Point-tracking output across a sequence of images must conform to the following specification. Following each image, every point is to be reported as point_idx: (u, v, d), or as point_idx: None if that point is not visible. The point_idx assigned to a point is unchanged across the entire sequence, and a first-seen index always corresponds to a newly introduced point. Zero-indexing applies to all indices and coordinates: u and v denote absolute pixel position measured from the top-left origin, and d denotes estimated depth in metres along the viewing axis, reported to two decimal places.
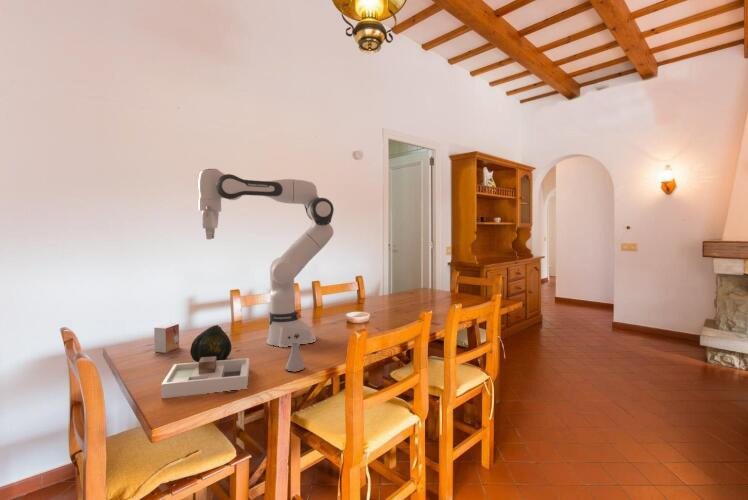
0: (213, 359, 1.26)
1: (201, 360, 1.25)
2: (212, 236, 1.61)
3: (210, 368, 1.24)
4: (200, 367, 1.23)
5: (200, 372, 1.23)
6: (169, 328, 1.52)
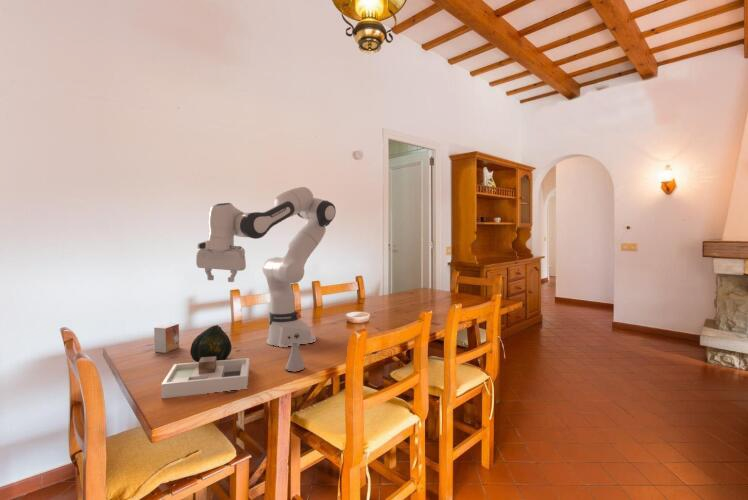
0: (213, 359, 1.26)
1: (201, 360, 1.25)
2: (212, 277, 1.41)
3: (210, 368, 1.24)
4: (200, 367, 1.23)
5: (200, 372, 1.23)
6: (169, 328, 1.52)
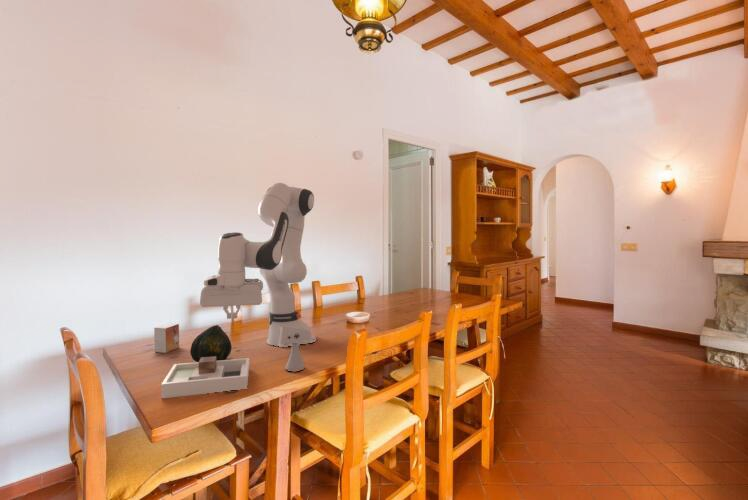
0: (213, 359, 1.26)
1: (201, 360, 1.25)
2: (231, 315, 1.28)
3: (210, 368, 1.24)
4: (200, 367, 1.23)
5: (200, 372, 1.23)
6: (169, 328, 1.52)
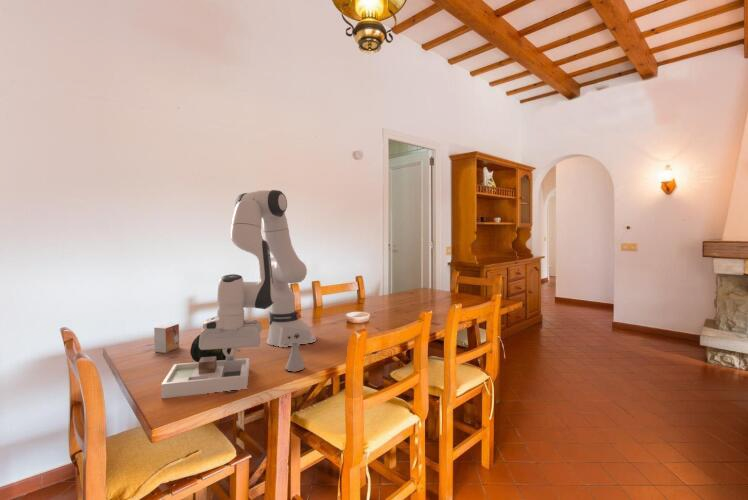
0: (213, 359, 1.26)
1: (201, 360, 1.25)
2: None
3: (210, 368, 1.24)
4: (200, 367, 1.23)
5: (200, 372, 1.23)
6: (169, 328, 1.52)
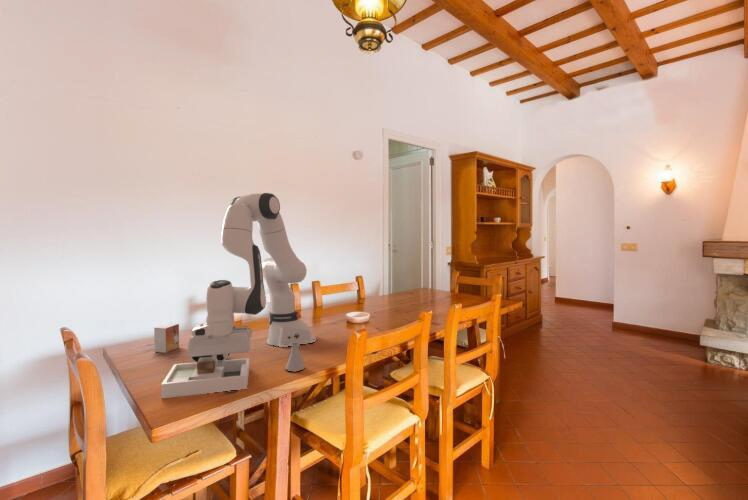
0: (212, 359, 1.26)
1: (199, 360, 1.25)
2: None
3: (208, 368, 1.24)
4: (199, 367, 1.23)
5: (199, 372, 1.23)
6: (169, 328, 1.52)
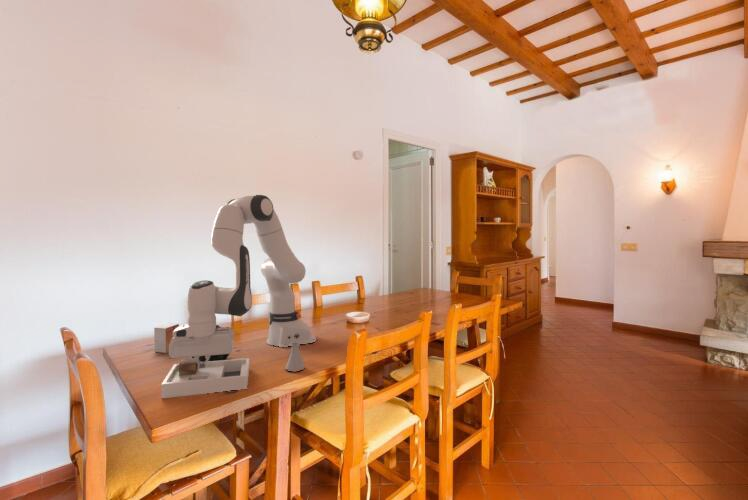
0: (194, 361, 1.24)
1: (181, 362, 1.23)
2: None
3: (190, 369, 1.22)
4: (180, 369, 1.21)
5: (180, 374, 1.21)
6: (169, 328, 1.52)
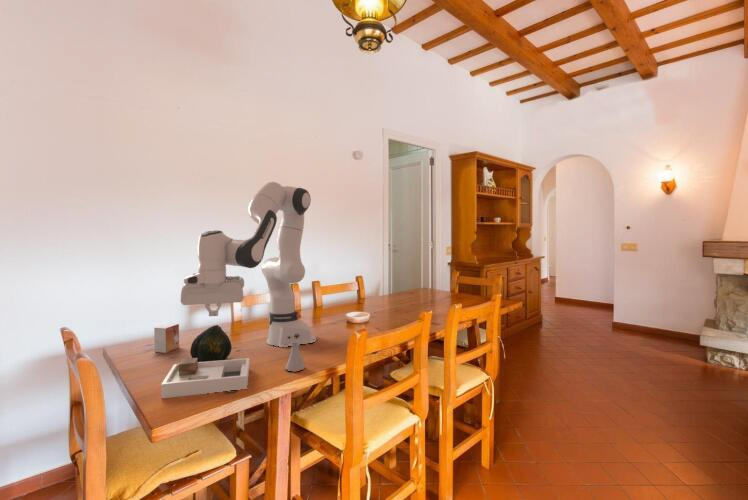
0: (194, 361, 1.24)
1: (181, 362, 1.23)
2: None
3: (190, 369, 1.22)
4: (180, 369, 1.21)
5: (180, 374, 1.21)
6: (169, 328, 1.52)
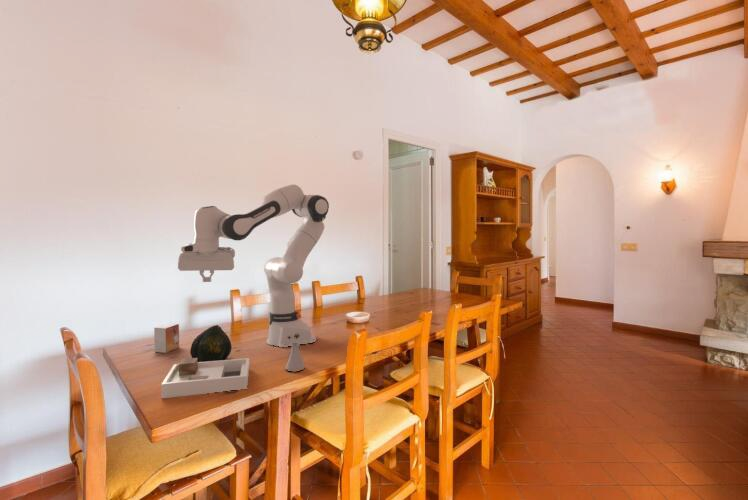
0: (194, 361, 1.24)
1: (181, 362, 1.23)
2: None
3: (190, 369, 1.22)
4: (180, 369, 1.21)
5: (180, 374, 1.21)
6: (169, 328, 1.52)
